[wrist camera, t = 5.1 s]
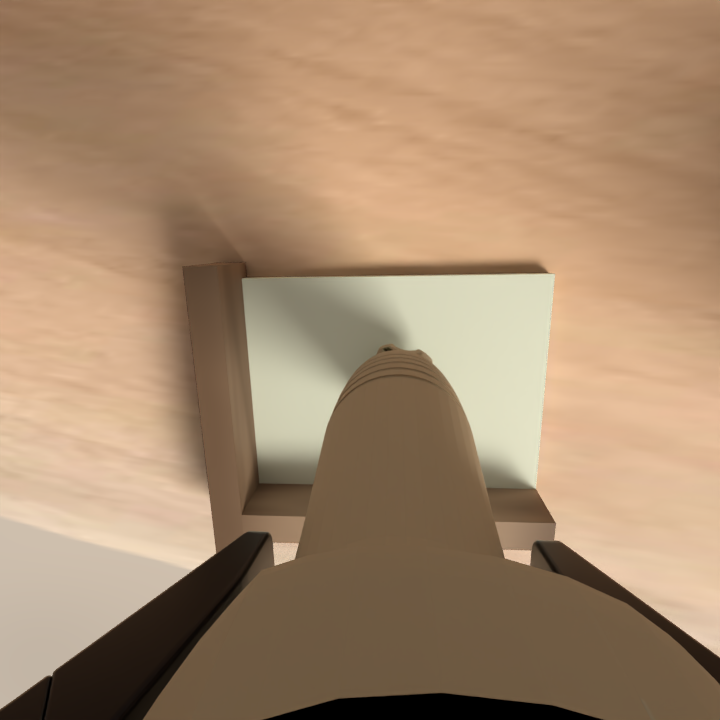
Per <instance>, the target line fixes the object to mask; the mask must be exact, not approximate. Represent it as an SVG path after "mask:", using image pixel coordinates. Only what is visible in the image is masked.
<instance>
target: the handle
mask: <svg viewBox="0 0 720 720" xmlns="http://www.w3.org/2000/svg"><path fill="white" fill-rule="evenodd" d="M143 720H720V684H719V683H718V682H717V681H716V680H715V679H714V678H713V677H712V676H711V675H710V674H709V673H708V672H707V671H706V670H705V669H704V668H703V667H702V666H701V665H700V664H699V663H698V662H697V661H696V660H695V659H694V658H693V657H692V656H691V655H690V654H689V653H688V652H687V651H686V650H685V649H684V648H683V647H682V646H681V645H680V644H679V643H678V642H677V641H675V640H674V639H673V638H672V637H671V636H670V635H669V634H667V633H666V632H665V631H663V630H662V629H660V628H659V627H658V626H656V625H655V624H654V623H652V622H651V621H650V620H648V619H647V618H646V617H644V616H643V615H642V614H640V613H639V612H638V611H636V610H635V609H634V608H632V607H631V606H629V605H628V604H627V603H624V602H622V601H620V600H618V599H616V598H613V597H611V596H609V595H607V594H605V593H602V592H600V591H598V590H596V589H594V588H591V587H589V586H587V585H585V584H583V583H580V582H578V581H576V580H574V579H572V578H569V577H567V576H563V575H560V574H556V573H553V572H549V571H546V570H542V569H539V568H536V567H532V566H529V565H525V564H522V563H518V562H515V561H511V560H508V559H505V558H504V554H503V550H502V546H501V543H500V539H499V535H498V532H497V528H496V524H495V520H494V517H493V513H492V509H491V505H490V501H489V497H488V493H487V489H486V485H485V482H484V478H483V474H482V470H481V466H480V462H479V458H478V454H477V450H476V446H475V442H474V438H473V434H472V430H471V427H470V424H469V422H468V419H467V417H466V414H465V412H464V410H463V407H462V405H461V403H460V401H459V399H458V397H457V395H456V393H455V391H454V389H453V388H452V386H451V385H450V383H449V382H448V380H447V379H446V377H445V376H444V375H443V373H442V372H441V371H440V370H439V369H438V368H437V367H436V366H435V365H434V364H433V361H432V359H431V358H430V357H429V356H428V355H427V354H426V353H425V352H423V351H422V350H420V349H417V350H412V351H410V350H403V349H400V348H398V347H396V346H394V344H386V345H383V346H381V347H380V348H379V349H378V352H377V354H376V355H375V356H373V357H371V358H369V359H368V360H367V361H366V362H364V363H363V364H362V365H361V366H360V367H359V368H358V369H357V370H356V371H355V372H354V373H353V375H352V376H351V378H350V379H349V380H348V382H347V384H346V385H345V387H344V389H343V391H342V392H341V394H340V396H339V398H338V401H337V403H336V405H335V407H334V410H333V413H332V415H331V417H330V420H329V422H328V425H327V428H326V432H325V435H324V440H323V444H322V448H321V453H320V457H319V461H318V466H317V470H316V474H315V479H314V483H313V487H312V492H311V496H310V500H309V505H308V509H307V513H306V517H305V521H304V525H303V529H302V533H301V537H300V541H299V545H298V549H297V553H296V557H295V560H292V561H289V562H286V563H282V564H279V565H276V566H273V567H270V568H267V569H264V570H261V571H260V572H259V573H258V575H257V576H256V577H255V578H254V579H253V580H252V581H251V582H250V583H249V584H248V585H247V586H246V587H245V589H244V590H243V591H242V592H241V593H240V594H239V595H238V596H237V597H236V598H235V599H234V600H233V602H232V603H231V604H230V605H229V606H228V607H227V609H226V610H225V611H224V612H223V613H222V614H221V616H220V617H219V618H218V619H217V620H216V621H215V623H214V624H213V625H212V626H211V627H210V628H209V630H208V631H207V632H206V633H205V634H204V635H203V637H202V638H201V639H200V640H199V642H198V643H197V644H196V646H195V647H194V648H193V650H192V651H191V652H190V654H189V655H188V656H187V658H186V659H185V661H184V662H183V663H182V665H181V666H180V667H179V669H178V670H177V671H176V673H175V674H174V676H173V677H172V678H171V680H170V681H169V682H168V684H167V685H166V687H165V688H164V689H163V691H162V692H161V694H160V695H159V696H158V698H157V699H156V701H155V702H154V704H153V705H152V707H151V708H150V710H149V711H148V713H147V714H146V716H145V717H144V719H143Z"/></svg>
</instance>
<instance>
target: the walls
mask: <svg viewBox="0 0 720 720" xmlns="http://www.w3.org/2000/svg"><path fill="white" fill-rule="evenodd" d="M183 275H184V283H185V292H186V300H187V309H188V317H189V326H190V334H191V342H192V351H193V359H194V368H195V376H196V385H197V393H198V401H199V410H200V418H201V427H202V435H203V444H204V452H205V461H206V469H207V477H208V486H209V494H210V503H211V511H212V520H213V528H214V537H215V545H216V553H218V552H219V551H221V550H222V549H223V548H225V547H226V546H227V545H229V544H230V543H232V542H233V541H234V540H236V539H237V538H238V537H240V536H241V535H243V534H244V533H246V532H248V531H262V532H269V533H270V534H271V536H272V541H273V542H278V543H299V541H300V537H301V533H302V529H303V525H304V521H305V517H306V513H307V509H308V505H309V500H310V496H311V492H312V487H313V484H270V483H259V473H258V462H257V450H256V438H255V427H254V415H253V404H252V392H251V380H250V369H249V357H248V345H247V334H246V322H245V311H244V299H243V287H242V279H243V278H247V276H246V264H245V263H212V264H203V265H193V266H183ZM486 489H487V493H488V497H489V501H490V505H491V509H492V513H493V517H494V520H495V524H496V528H497V532H498V535H499V539H500V543H501V546H502V549H504V550H532V546H533V543H534V542H535V541H536V540H550V541H554V535H555V526H556V523H555V521H554V519H553V518H552V516H551V514H550V513H549V511H548V509H547V507H546V506H545V504H544V502H543V501H542V499H541V497H540V495H539V494H538V492H537V490H536V489H512V488H486Z"/></svg>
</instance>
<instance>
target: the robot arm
mask: <svg viewBox="0 0 720 720" xmlns="http://www.w3.org/2000/svg"><path fill="white" fill-rule="evenodd" d="M273 566H274V554H273V541H272V536H271V534H270V533H269V532H262V531H248V532H246V533H244V534H243V535H241V536H240V537H238V538H237V539H236V540H234V541H233V542H232V543H230V544H229V545H227V546H226V547H225V548H223V549H222V550H221V551H219V552H218V553H216V554H215V555H214V556H212V557H211V558H209V559H208V560H207V561H205V562H204V563H203V564H201V565H200V566H198V567H197V568H196V569H194V570H193V571H192V572H190V573H189V574H187V575H186V576H185V577H183V578H182V579H180V580H179V581H178V582H176V583H175V584H174V585H172V586H171V587H169V588H168V589H167V590H165V591H164V592H163V593H161V594H160V595H158V596H157V597H156V598H154V599H153V600H151V601H150V602H149V603H147V604H146V605H145V606H143V607H142V608H140V609H139V610H138V611H137V612H135V613H134V614H132V615H131V616H129V617H128V618H127V619H125V620H124V621H123V622H121V623H120V624H118V625H117V626H116V627H114V628H113V629H111V630H110V631H109V632H107V633H106V634H105V635H103V636H102V637H100V638H99V639H98V640H96V641H95V642H94V643H92V644H91V645H89V646H88V647H87V648H85V649H84V650H82V651H81V652H80V653H78V654H77V655H76V656H74V657H73V658H71V659H70V660H69V661H67V662H66V663H64V664H63V665H62V666H60V667H59V668H57V669H56V670H55V671H54V672H53V675H52V676H46V677H45V678H43V679H42V680H41V681H39V682H38V683H37V684H35V685H34V686H32V687H31V688H30V689H28V690H27V691H25V692H24V693H23V694H21V695H20V696H19V697H17V698H16V699H14V700H13V701H11V702H10V703H9V704H7V705H6V706H4V707H3V708H1V709H0V720H143V719H144V717H145V716H146V714H147V713H148V711H149V710H150V708H151V707H152V705H153V704H154V702H155V701H156V699H157V698H158V696H159V695H160V694H161V692H162V691H163V689H164V688H165V687H166V685H167V684H168V682H169V681H170V680H171V678H172V677H173V676H174V674H175V673H176V671H177V670H178V669H179V667H180V666H181V665H182V663H183V662H184V661H185V659H186V658H187V656H188V655H189V654H190V652H191V651H192V650H193V648H194V647H195V646H196V644H197V643H198V642H199V640H200V639H201V638H202V637H203V635H204V634H205V633H206V632H207V631H208V630H209V628H210V627H211V626H212V625H213V624H214V623H215V621H216V620H217V619H218V618H219V617H220V616H221V614H222V613H223V612H224V611H225V610H226V609H227V607H228V606H229V605H230V604H231V603H232V602H233V600H234V599H235V598H236V597H237V596H238V595H239V594H240V593H241V592H242V591H243V590H244V589H245V587H246V586H247V585H248V584H249V583H250V582H251V581H252V580H253V579H254V578H255V577H256V576H257V575H258V573H259V572H260V571H261V570H264V569H267V568H270V567H273ZM530 566H532V567H536V568H539V569H542V570H546V571H549V572H553V573H556V574H560V575H563V576H567V577H569V578H572V579H574V580H576V581H578V582H580V583H583V584H585V585H587V586H589V587H591V588H594V589H596V590H598V591H600V592H602V593H605V594H607V595H609V596H611V597H613V598H616V599H618V600H620V601H622V602H624V603H627V604H628V605H629V606H631V607H632V608H634V609H635V610H636V611H638V612H639V613H640V614H642V615H643V616H644V617H646V618H647V619H648V620H650V621H651V622H652V623H654V624H655V625H656V626H658V627H659V628H660V629H662V630H663V631H665V632H666V633H667V634H669V635H670V636H671V637H672V638H673V639H674V640H675V641H677V642H678V643H679V644H680V645H681V646H682V647H683V648H684V649H685V650H686V651H687V652H688V653H689V654H690V655H691V656H692V657H693V658H694V659H695V660H696V661H697V662H698V663H699V664H700V665H701V666H702V667H703V668H704V669H705V670H706V671H707V672H708V673H709V674H710V675H711V676H712V677H713V678H714V679H715V680H716V681H717V682H718V683H719V684H720V657H718V656H717V655H716V654H714V653H713V652H712V651H710V650H709V649H707V648H706V647H705V646H703V645H702V644H701V643H699V642H698V641H696V640H695V639H694V638H692V637H691V636H690V635H688V634H687V633H686V632H684V631H683V630H681V629H680V628H679V627H677V626H676V625H675V624H673V623H672V622H670V621H669V620H668V619H666V618H665V617H664V616H662V615H661V614H659V613H658V612H657V611H655V610H654V609H653V608H651V607H650V606H648V605H647V604H646V603H644V602H643V601H642V600H640V599H639V598H637V597H636V596H635V595H633V594H632V593H631V592H629V591H628V590H626V589H625V588H624V587H622V586H621V585H620V584H618V583H617V582H616V581H614V580H613V579H611V578H610V577H609V576H607V575H606V574H605V573H603V572H602V571H600V570H599V569H598V568H596V567H595V566H594V565H592V564H591V563H589V562H588V561H587V560H585V559H584V558H583V557H581V556H580V555H578V554H577V553H576V552H574V551H573V550H572V549H570V548H569V547H567V546H566V545H565V544H563V543H562V542H560V541H550V540H536V541H535V542H534V543H533V546H532V552H531V563H530Z"/></svg>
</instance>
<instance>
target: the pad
mask: <svg viewBox="0 0 720 720" xmlns="http://www.w3.org/2000/svg"><path fill="white" fill-rule="evenodd" d="M554 280H555V274H553V273H513V274H447V275H382V276H317V277H252V278H243V279H242V287H243V299H244V311H245V322H246V334H247V345H248V357H249V369H250V380H251V392H252V404H253V415H254V427H255V438H256V450H257V462H258V473H259V483H270V484H313V483H314V479H315V474H316V470H317V466H318V461H319V457H320V453H321V448H322V444H323V440H324V435H325V432H326V428H327V425H328V422H329V420H330V417H331V415H332V413H333V410H334V407H335V405H336V403H337V401H338V398H339V396H340V394H341V392H342V391H343V389H344V387H345V385H346V384H347V382H348V380H349V379H350V378H351V376H352V375H353V373H354V372H355V371H356V370H357V369H358V368H359V367H360V366H361V365H362V364H363V363H364V362H366V361H367V360H368V359H369V358H371V357H373V356H375V355H376V354H377V352H378V349H379V348H380V347H381V346H383V345H386V344H394V346H396V347H398V348H400V349H403V350H410V351H412V350H417V349H420V350H422V351H423V352H425V353H426V354H427V355H428V356H429V357H430V358H431V359H432V361H433V364H434V365H435V366H436V367H437V368H438V369H439V370H440V371H441V372H442V373H443V375H444V376H445V377H446V379H447V380H448V382H449V383H450V385H451V386H452V388H453V389H454V391H455V393H456V395H457V397H458V399H459V401H460V403H461V405H462V407H463V410H464V412H465V414H466V417H467V419H468V422H469V424H470V427H471V430H472V434H473V438H474V442H475V446H476V450H477V454H478V458H479V462H480V466H481V470H482V474H483V478H484V482H485V485H486V488H512V489H536V481H537V469H538V458H539V447H540V436H541V425H542V414H543V403H544V391H545V380H546V369H547V358H548V347H549V336H550V324H551V313H552V302H553V291H554Z"/></svg>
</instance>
